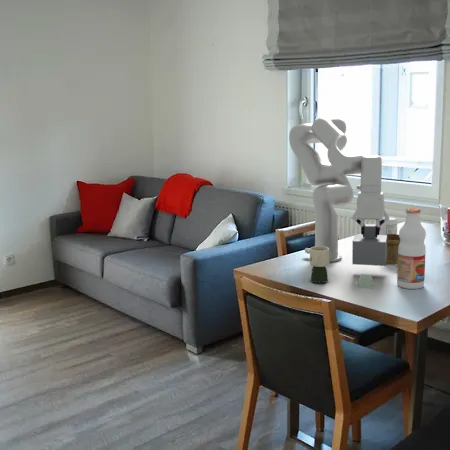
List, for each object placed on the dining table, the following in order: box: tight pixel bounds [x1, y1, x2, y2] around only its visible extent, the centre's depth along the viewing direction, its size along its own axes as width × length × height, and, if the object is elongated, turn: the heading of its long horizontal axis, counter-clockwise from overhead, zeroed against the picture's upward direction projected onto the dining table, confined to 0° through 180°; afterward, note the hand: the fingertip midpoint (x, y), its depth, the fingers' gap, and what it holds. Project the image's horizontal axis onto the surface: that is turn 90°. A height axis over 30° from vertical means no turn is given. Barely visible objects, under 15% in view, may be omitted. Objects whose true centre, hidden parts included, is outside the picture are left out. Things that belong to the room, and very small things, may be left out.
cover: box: [351, 223, 387, 267], centre depth 230 cm, size 12×12×14 cm
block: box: [359, 273, 373, 290], centre depth 218 cm, size 4×4×4 cm
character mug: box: [309, 245, 330, 284], centre depth 224 cm, size 11×7×13 cm, turn 156°
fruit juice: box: [396, 207, 427, 290], centre depth 215 cm, size 9×9×28 cm
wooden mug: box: [386, 233, 400, 265], centre depth 246 cm, size 9×14×18 cm, turn 60°
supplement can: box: [379, 216, 398, 235], centre depth 263 cm, size 8×8×15 cm
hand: (370, 236), depth 230 cm, fingers closed on cover, 4 cm apart
